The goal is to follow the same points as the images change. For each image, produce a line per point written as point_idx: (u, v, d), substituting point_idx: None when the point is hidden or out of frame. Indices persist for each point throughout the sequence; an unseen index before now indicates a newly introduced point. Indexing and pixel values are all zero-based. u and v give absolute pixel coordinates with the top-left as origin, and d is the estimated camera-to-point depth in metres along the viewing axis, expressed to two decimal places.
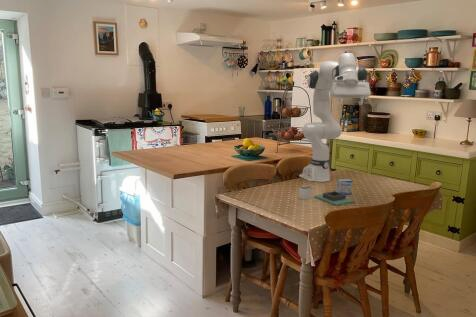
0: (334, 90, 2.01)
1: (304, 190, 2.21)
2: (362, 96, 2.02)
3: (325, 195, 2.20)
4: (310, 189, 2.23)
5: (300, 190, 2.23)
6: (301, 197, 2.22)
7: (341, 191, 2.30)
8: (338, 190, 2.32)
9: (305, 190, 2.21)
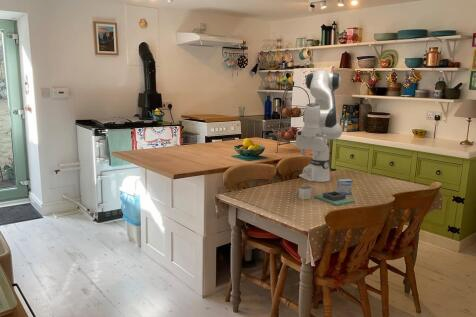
0: (296, 143, 2.22)
1: (304, 190, 2.21)
2: (316, 151, 2.12)
3: (325, 195, 2.20)
4: (310, 189, 2.23)
5: (300, 190, 2.23)
6: (301, 197, 2.22)
7: (341, 191, 2.30)
8: (338, 190, 2.32)
9: (305, 190, 2.21)
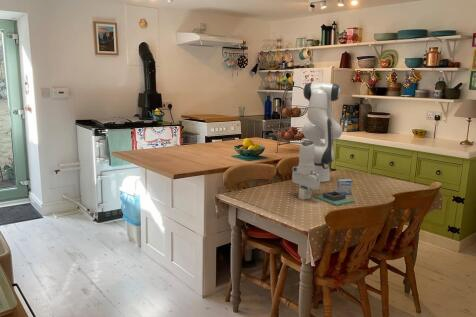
0: (293, 178, 2.29)
1: (304, 190, 2.21)
2: (308, 188, 2.20)
3: (325, 195, 2.20)
4: None
5: (300, 190, 2.23)
6: (301, 197, 2.22)
7: (341, 191, 2.30)
8: (338, 190, 2.32)
9: (305, 190, 2.21)
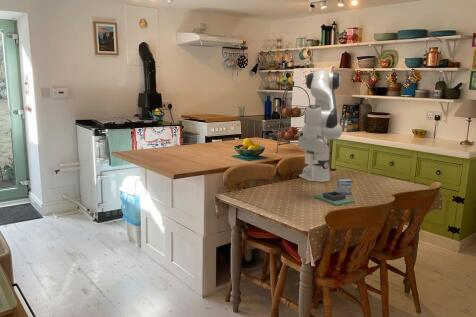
0: (299, 144, 2.25)
1: (310, 155, 2.16)
2: (314, 152, 2.15)
3: (325, 195, 2.20)
4: None
5: (306, 155, 2.18)
6: (307, 162, 2.18)
7: (341, 191, 2.30)
8: (338, 190, 2.32)
9: (311, 155, 2.16)
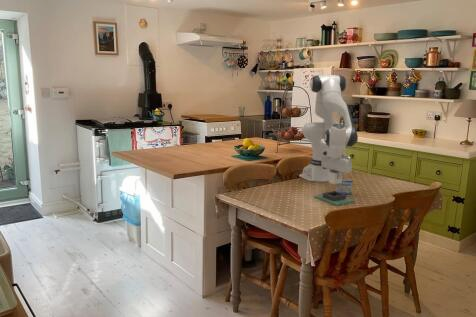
0: (322, 163, 2.24)
1: (335, 174, 2.15)
2: (339, 172, 2.14)
3: (325, 195, 2.20)
4: None
5: (330, 174, 2.17)
6: (331, 181, 2.17)
7: (341, 191, 2.30)
8: (338, 190, 2.32)
9: (336, 174, 2.16)
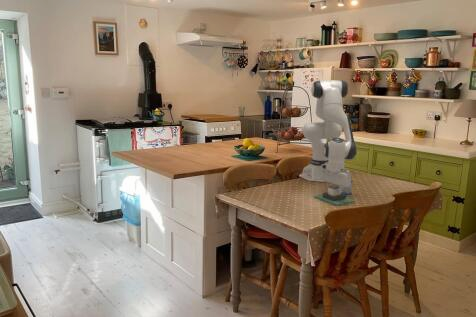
0: (321, 176, 2.26)
1: (334, 190, 2.17)
2: (339, 186, 2.15)
3: (325, 195, 2.20)
4: None
5: (329, 190, 2.19)
6: None
7: None
8: None
9: (335, 190, 2.18)
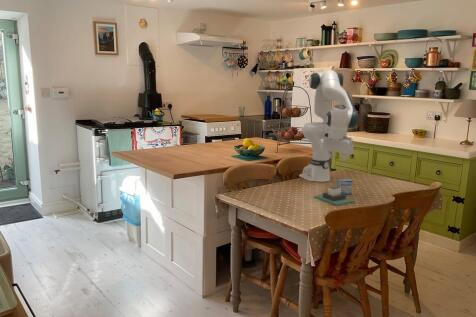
0: (323, 145, 2.22)
1: (334, 190, 2.17)
2: (343, 154, 2.11)
3: (325, 195, 2.20)
4: (339, 189, 2.20)
5: (329, 190, 2.19)
6: None
7: (341, 191, 2.30)
8: None
9: (335, 190, 2.18)
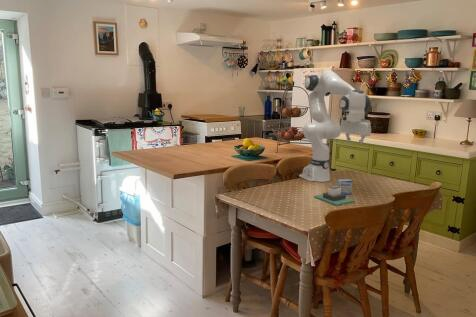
0: (341, 128, 2.34)
1: (334, 190, 2.17)
2: (361, 136, 2.23)
3: (325, 195, 2.20)
4: (339, 189, 2.20)
5: (329, 190, 2.19)
6: None
7: (341, 191, 2.30)
8: None
9: (335, 190, 2.18)
